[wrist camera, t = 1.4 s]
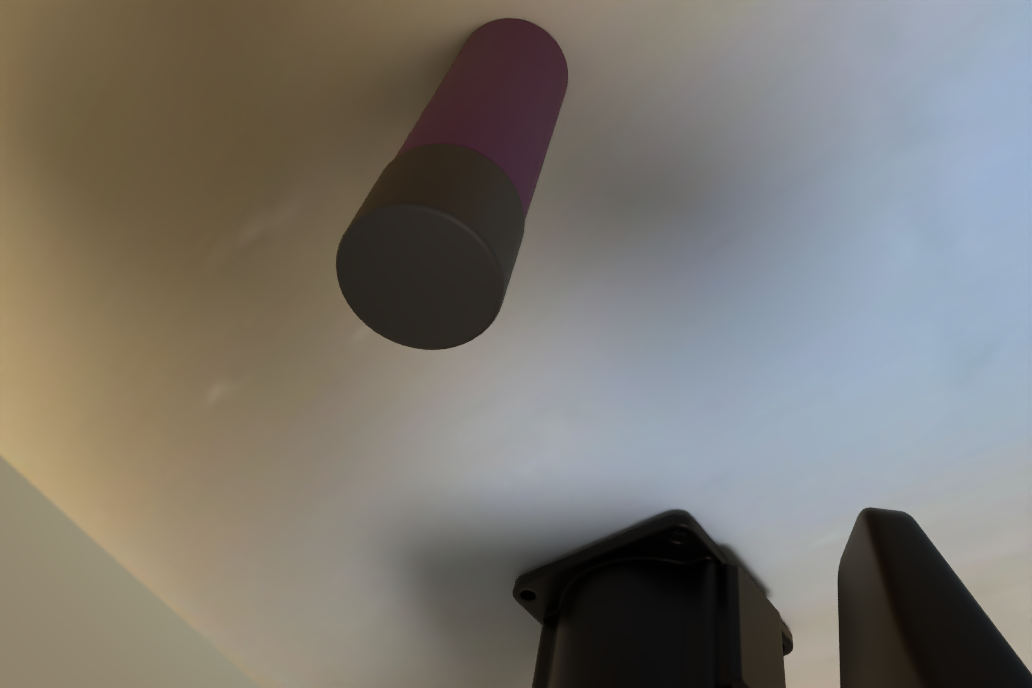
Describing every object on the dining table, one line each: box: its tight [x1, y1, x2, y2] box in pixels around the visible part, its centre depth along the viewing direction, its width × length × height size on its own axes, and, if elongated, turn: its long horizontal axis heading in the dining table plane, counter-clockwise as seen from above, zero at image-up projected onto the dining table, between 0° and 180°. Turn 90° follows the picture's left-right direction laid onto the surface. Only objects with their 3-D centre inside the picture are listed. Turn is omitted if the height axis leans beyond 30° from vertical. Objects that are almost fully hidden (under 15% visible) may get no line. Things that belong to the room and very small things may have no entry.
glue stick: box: [336, 19, 568, 350], centre depth 17 cm, size 2×2×8 cm
